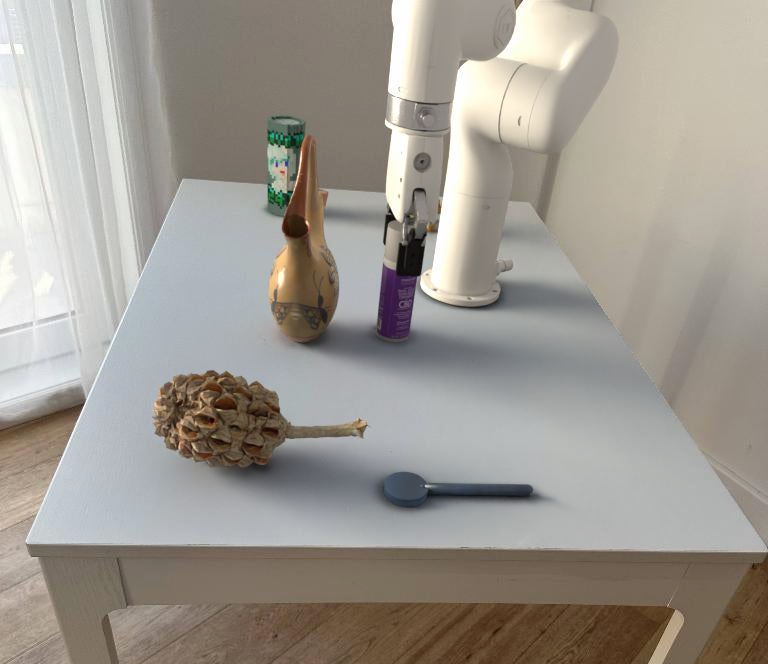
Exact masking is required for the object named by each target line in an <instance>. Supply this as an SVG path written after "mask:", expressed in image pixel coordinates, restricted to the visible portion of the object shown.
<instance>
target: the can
mask: <svg viewBox="0 0 768 664" xmlns="http://www.w3.org/2000/svg"><path fill="white" fill-rule="evenodd" d="M266 127H267V129H266V130H267V133H266V135H267V137H266V138H267V150H266V151H267V154H266V155H267V210H268V212H269V213H271V214H273V215H275V216H279V217H280V216H281V217H284V215H285V213H286V210H287V208H288V205H289V203H290V200H291V197H292V194H293V191H294V188H295V184H296V180H297V175H298V169H299V160H300V151H301V146H302V143H303V140H304V138H305V136H306V121H305V119H303V118H301V117H298V116H294V115H289V114H285V115H284V114H277V115H276V114H275V115H270V116H269V117H268V118H267V125H266Z"/></svg>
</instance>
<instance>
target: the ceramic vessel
mask: <svg viewBox="0 0 768 664" xmlns="http://www.w3.org/2000/svg"><path fill="white" fill-rule="evenodd" d="M317 163H318V162H317V141H316V139H315V137H314V136H313V135H311V134H305V138H304V140H303V143H302V146H301V151H300V160H299V169H298V175H297V180H296V184H295V188H294V191H293V194H292V197H291V200H290V203H289V205H288V208H287V210H286V213H285V215H284V216H283V218H282V221H281V233H282V235H283V237H284V239H285V242H286V243H285V244H284V245H283V246H282V247H281V248H280V250H279V251H278V253H277V254H276V257H275V259H274V261H273V263H272V266H271V269H270V274H269V281H268V303H269V307H270V312H271V314H272V317H273V320H274V322H275V325H277V327H278V329H279V330H280V332H281V333H282V334H283V335H284V336H286V337H287V338H289V340H291V341H293V342H296V343H309V342H312V341H314V340H316V339H318V338H319V336H321V335H322V334H323V333H324V332H325V331H326V329H327V328H328V327H329V326H330V324H331V322H332V320H333V318H334V316H335V314H336V310H337V307H338V304H339V297H340V277H339V276H340V275H339V269H338V266H337V263H336V260H335V257H334V256H333V253H332V251H331V249H329V246H328V244H327V241H326V237H325V229H324V228H325V227H324V220H325V219H324V218H325V210H326V205H327V200H328V196H329V191H327V190H325V189H321V188H320V186H319V177H318V166H317V165H318V164H317Z"/></svg>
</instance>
